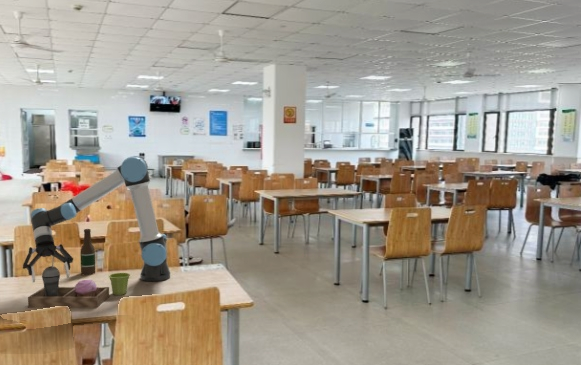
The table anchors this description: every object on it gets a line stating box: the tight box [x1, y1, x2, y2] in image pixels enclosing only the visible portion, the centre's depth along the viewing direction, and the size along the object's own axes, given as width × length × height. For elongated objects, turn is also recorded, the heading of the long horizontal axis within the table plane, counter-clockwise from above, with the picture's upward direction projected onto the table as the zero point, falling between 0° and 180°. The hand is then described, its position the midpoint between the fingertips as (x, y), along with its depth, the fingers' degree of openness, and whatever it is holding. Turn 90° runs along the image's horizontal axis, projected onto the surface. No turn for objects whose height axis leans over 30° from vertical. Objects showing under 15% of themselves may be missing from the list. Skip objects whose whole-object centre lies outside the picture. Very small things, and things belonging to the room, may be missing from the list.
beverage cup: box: [41, 256, 61, 297], centre depth 215 cm, size 7×7×20 cm
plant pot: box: [108, 272, 131, 296], centre depth 229 cm, size 9×9×9 cm
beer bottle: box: [79, 228, 96, 276], centre depth 263 cm, size 8×8×24 cm
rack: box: [27, 286, 110, 309], centre depth 216 cm, size 29×15×4 cm, turn 91°
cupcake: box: [74, 279, 98, 297], centre depth 216 cm, size 9×9×10 cm
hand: (51, 278), depth 213 cm, fingers open, 13 cm apart
